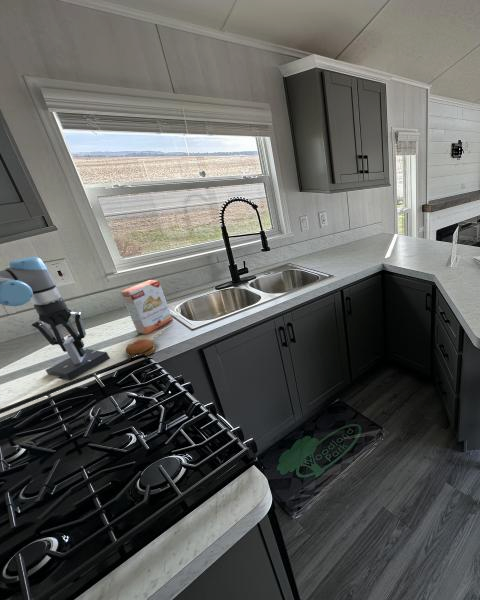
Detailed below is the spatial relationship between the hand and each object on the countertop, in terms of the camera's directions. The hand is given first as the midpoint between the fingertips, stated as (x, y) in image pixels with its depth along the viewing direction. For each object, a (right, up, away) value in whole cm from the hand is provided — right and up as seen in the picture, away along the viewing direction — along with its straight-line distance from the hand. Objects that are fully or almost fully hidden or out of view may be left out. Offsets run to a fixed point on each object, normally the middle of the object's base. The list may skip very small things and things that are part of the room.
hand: (78, 356), depth 125 cm
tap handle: (0, -1, +1) cm, 1 cm away
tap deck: (0, -4, +1) cm, 5 cm away
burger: (+18, 0, +9) cm, 20 cm away
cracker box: (+9, +9, +29) cm, 31 cm away
